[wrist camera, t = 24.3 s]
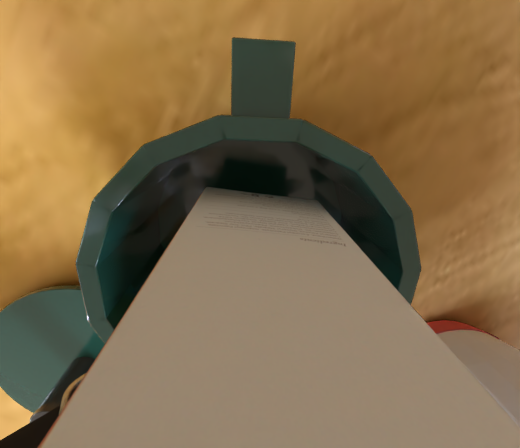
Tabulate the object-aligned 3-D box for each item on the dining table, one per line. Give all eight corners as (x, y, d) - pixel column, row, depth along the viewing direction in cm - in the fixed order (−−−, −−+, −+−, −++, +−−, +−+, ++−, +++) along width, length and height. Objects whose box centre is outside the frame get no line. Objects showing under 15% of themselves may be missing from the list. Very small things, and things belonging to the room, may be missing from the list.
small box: (204, 184, 14) (-60, 550, 2) (319, 198, 15) (665, 552, 3) (196, 309, 17) (65, 781, 5) (293, 317, 18) (400, 759, 5)
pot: (161, 330, 25) (114, 443, 16) (134, 70, 18) (19, 15, 9) (329, 330, 26) (372, 437, 17) (371, 84, 19) (486, 48, 10)
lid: (23, 419, 28) (-34, 495, 23) (-30, 279, 22) (-127, 333, 17) (187, 416, 29) (173, 488, 24) (178, 282, 23) (155, 334, 18)
